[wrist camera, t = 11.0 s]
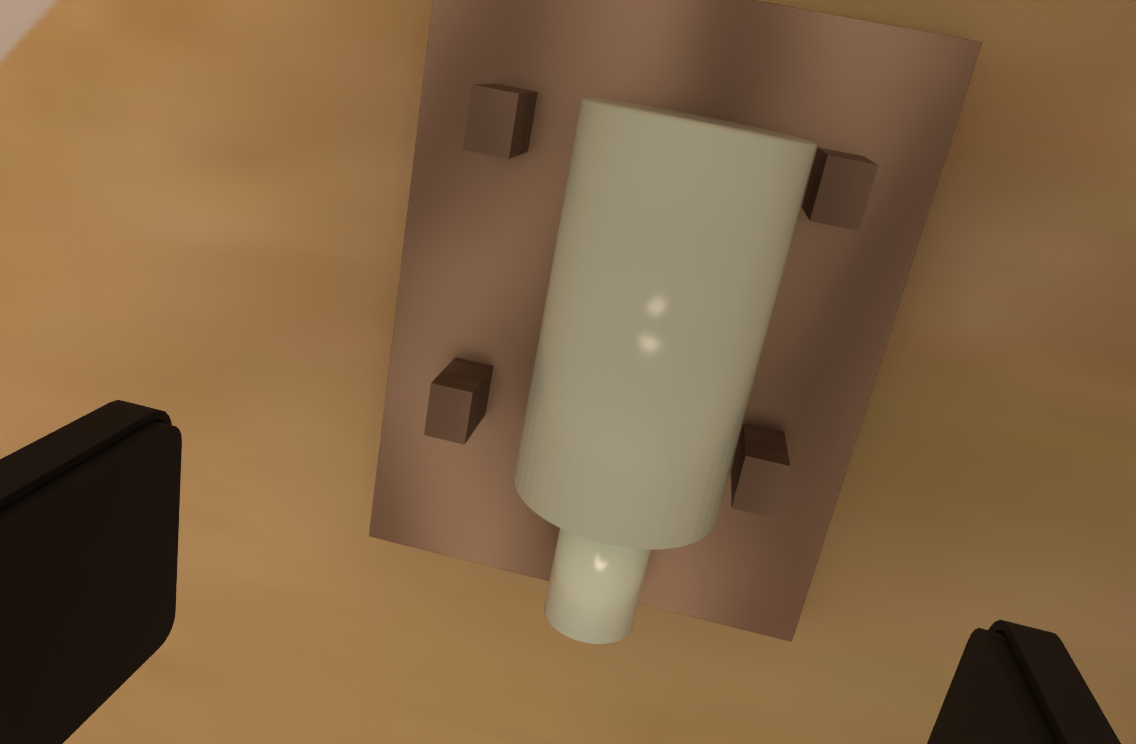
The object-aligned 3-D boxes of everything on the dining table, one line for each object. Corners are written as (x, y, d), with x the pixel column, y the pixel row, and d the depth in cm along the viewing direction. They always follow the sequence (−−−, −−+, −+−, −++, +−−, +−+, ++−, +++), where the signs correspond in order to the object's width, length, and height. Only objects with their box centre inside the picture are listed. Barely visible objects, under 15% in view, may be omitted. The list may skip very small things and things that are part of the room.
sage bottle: (574, 91, 24) (591, 107, 18) (780, 129, 24) (852, 156, 19) (494, 550, 28) (489, 668, 23) (667, 572, 29) (700, 692, 24)
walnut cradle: (971, 43, 23) (1011, 38, 20) (789, 623, 29) (797, 690, 26) (450, -53, 24) (409, -72, 21) (379, 521, 31) (339, 574, 27)
